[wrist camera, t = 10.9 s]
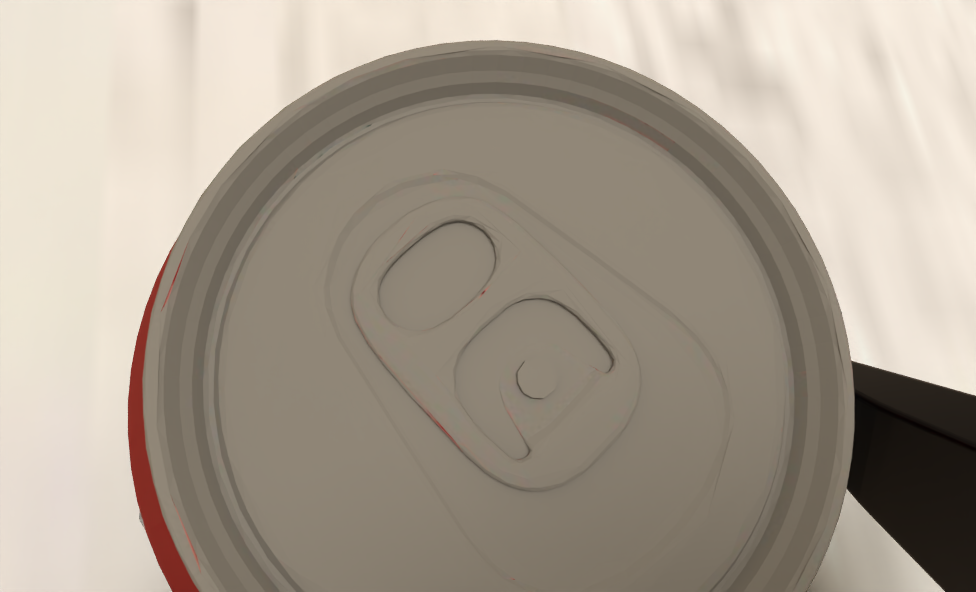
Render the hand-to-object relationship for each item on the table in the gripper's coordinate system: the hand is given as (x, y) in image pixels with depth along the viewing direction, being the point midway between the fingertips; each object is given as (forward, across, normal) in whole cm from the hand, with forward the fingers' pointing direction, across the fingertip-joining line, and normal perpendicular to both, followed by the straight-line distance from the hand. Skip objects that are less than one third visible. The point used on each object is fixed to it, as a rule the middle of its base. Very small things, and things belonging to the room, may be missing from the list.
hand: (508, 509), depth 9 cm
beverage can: (+7, 0, +4) cm, 8 cm away
